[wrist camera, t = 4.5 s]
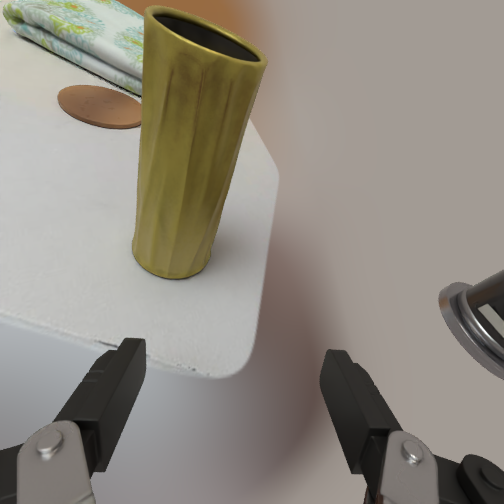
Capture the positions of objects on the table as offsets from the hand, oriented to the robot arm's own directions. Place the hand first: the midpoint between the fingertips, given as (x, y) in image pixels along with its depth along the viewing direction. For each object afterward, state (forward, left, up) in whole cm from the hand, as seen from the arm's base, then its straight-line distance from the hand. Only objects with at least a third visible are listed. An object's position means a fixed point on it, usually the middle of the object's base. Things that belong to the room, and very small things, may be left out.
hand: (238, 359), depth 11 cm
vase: (+2, -11, -6) cm, 12 cm away
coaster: (+10, -32, -6) cm, 34 cm away
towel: (+10, -49, -6) cm, 50 cm away
